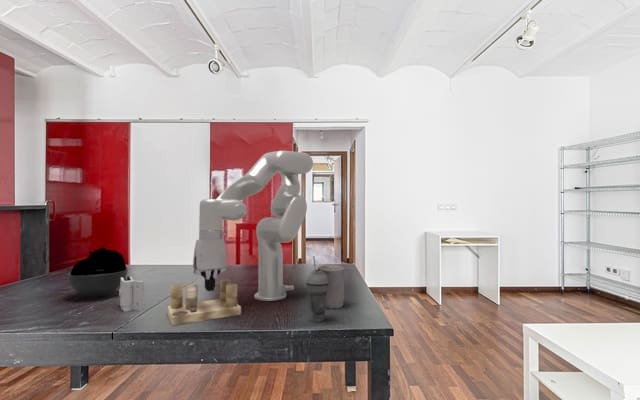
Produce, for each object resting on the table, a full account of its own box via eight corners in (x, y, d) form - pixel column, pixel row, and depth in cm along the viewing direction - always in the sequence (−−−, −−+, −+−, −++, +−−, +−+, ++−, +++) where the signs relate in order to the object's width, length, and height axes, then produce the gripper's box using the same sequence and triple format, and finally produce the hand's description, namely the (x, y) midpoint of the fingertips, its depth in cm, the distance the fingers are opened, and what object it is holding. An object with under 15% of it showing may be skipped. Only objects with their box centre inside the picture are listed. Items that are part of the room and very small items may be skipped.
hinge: (143, 310, 114) (144, 281, 114) (126, 314, 110) (126, 284, 110) (129, 302, 123) (130, 275, 123) (113, 305, 119) (113, 277, 119)
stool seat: (230, 304, 121) (230, 278, 121) (240, 314, 110) (241, 285, 110) (167, 313, 110) (167, 285, 110) (172, 325, 99) (172, 293, 99)
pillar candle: (311, 305, 120) (312, 264, 120) (329, 299, 127) (329, 260, 127) (331, 311, 113) (332, 267, 114) (349, 305, 121) (349, 264, 121)
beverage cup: (326, 324, 100) (326, 258, 101) (303, 322, 102) (303, 257, 102) (330, 316, 108) (330, 255, 108) (308, 315, 109) (308, 254, 110)
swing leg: (200, 310, 105) (200, 288, 105) (188, 312, 103) (188, 289, 103) (196, 305, 110) (196, 284, 110) (184, 307, 108) (185, 285, 109)
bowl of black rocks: (106, 303, 122) (107, 252, 122) (53, 303, 122) (54, 252, 123) (137, 290, 142) (138, 246, 142) (91, 289, 142) (92, 246, 143)
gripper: (227, 234, 119) (226, 285, 119) (184, 236, 110) (183, 291, 109) (236, 235, 113) (235, 289, 113) (192, 237, 104) (191, 296, 103)
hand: (209, 290), depth 111 cm, fingers closed
